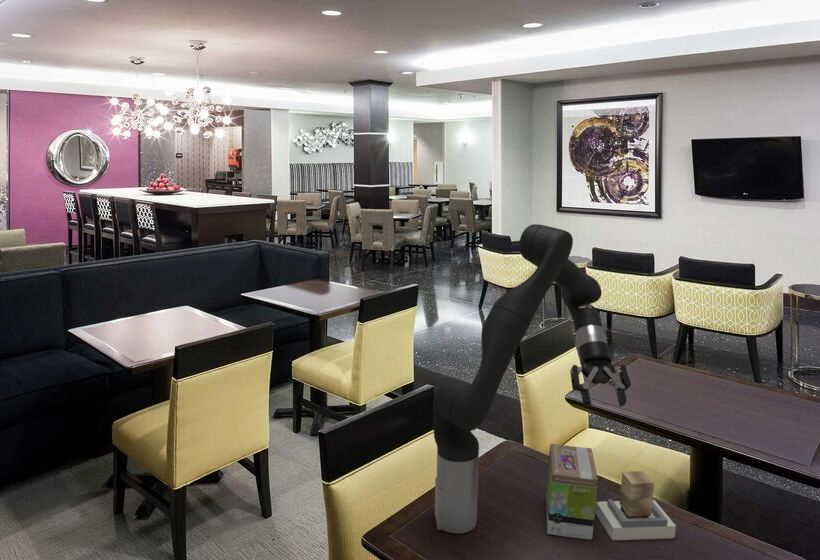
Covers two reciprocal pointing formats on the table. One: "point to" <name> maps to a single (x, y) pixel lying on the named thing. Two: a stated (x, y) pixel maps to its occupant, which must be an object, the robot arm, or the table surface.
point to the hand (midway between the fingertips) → (605, 405)
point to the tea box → (571, 491)
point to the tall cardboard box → (636, 494)
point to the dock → (634, 522)
